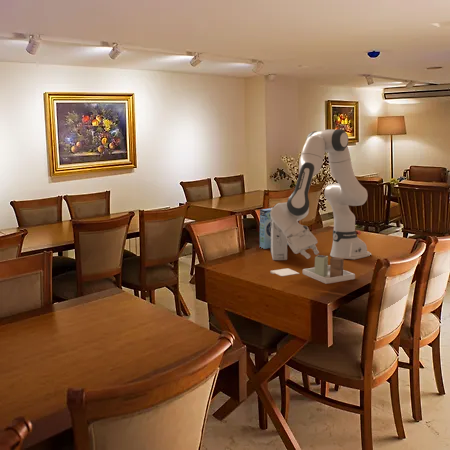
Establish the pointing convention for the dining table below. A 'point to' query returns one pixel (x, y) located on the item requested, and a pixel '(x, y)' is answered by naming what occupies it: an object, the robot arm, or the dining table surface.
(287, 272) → the pad
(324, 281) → the white tray
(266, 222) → the light blue carton
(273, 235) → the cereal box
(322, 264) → the sage box
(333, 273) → the walnut box
